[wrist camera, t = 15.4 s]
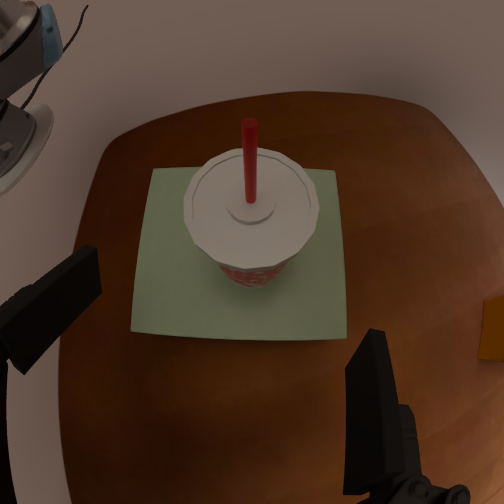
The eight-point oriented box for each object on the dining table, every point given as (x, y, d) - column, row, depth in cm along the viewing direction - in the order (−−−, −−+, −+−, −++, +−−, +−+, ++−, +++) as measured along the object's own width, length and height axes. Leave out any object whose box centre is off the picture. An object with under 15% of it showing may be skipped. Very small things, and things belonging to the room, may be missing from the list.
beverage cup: (201, 233, 22) (140, 92, 8) (277, 210, 22) (302, 57, 9) (223, 310, 20) (163, 249, 6) (305, 284, 20) (389, 184, 7)
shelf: (172, 203, 30) (153, 168, 24) (319, 205, 30) (335, 170, 23) (159, 334, 26) (130, 331, 19) (324, 339, 26) (346, 338, 19)
